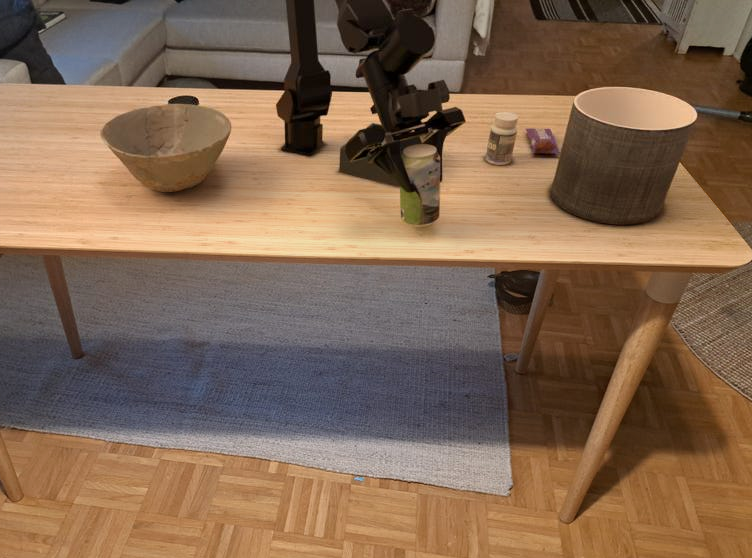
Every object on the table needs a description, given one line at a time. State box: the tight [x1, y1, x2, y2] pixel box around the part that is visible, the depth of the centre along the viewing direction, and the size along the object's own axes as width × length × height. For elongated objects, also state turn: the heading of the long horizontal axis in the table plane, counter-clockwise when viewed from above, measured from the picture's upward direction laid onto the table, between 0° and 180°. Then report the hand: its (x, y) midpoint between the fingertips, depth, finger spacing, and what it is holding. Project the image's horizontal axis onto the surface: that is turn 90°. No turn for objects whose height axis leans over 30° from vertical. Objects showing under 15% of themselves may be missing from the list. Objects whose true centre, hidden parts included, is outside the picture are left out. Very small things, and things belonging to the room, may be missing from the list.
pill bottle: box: [485, 111, 519, 166], centre depth 125 cm, size 5×5×8 cm
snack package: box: [525, 127, 561, 155], centre depth 132 cm, size 12×2×5 cm
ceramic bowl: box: [99, 103, 232, 193], centre depth 120 cm, size 22×23×10 cm
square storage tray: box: [338, 122, 422, 188], centre depth 125 cm, size 13×13×5 cm
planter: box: [550, 86, 698, 225], centre depth 110 cm, size 18×18×16 cm
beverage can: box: [399, 144, 441, 228], centre depth 104 cm, size 6×7×12 cm
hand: (424, 187), depth 103 cm, fingers closed on beverage can, 5 cm apart
